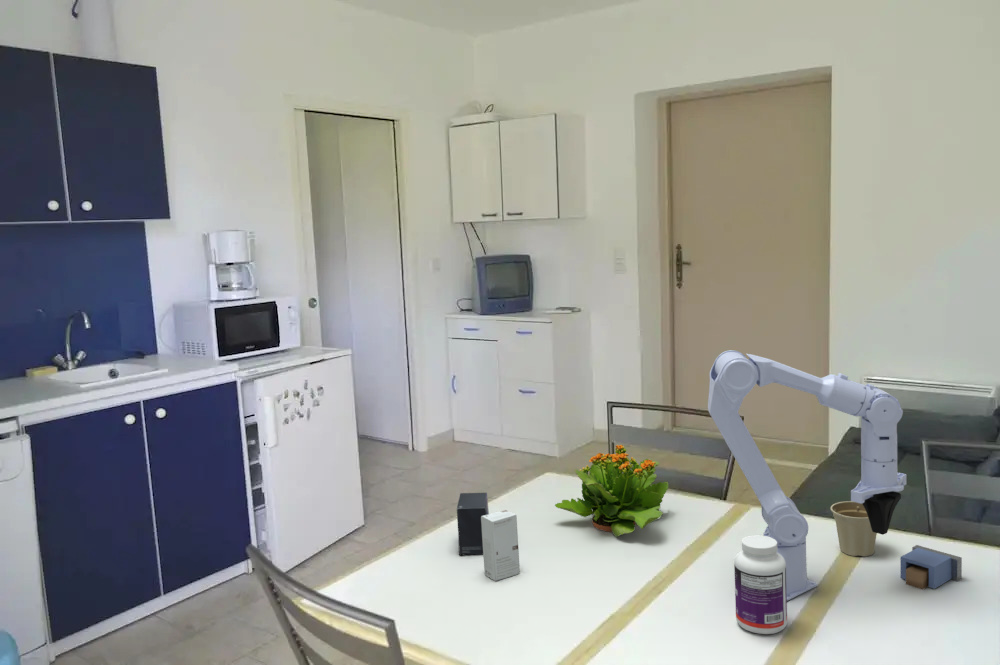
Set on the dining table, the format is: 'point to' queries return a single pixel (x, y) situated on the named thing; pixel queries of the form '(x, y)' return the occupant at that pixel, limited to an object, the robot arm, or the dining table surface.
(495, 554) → the skincare box
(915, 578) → the walnut peg
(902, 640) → the dining table surface
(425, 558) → the dining table surface
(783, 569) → the pill bottle
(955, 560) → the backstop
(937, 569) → the socket block
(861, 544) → the flower pot
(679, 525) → the dining table surface
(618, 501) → the potted flower
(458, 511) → the small box
